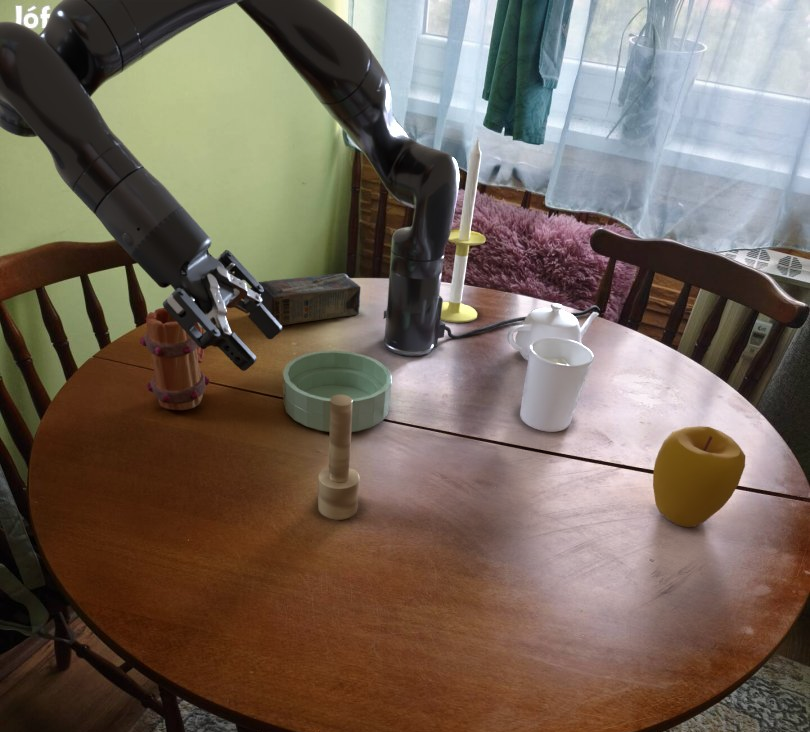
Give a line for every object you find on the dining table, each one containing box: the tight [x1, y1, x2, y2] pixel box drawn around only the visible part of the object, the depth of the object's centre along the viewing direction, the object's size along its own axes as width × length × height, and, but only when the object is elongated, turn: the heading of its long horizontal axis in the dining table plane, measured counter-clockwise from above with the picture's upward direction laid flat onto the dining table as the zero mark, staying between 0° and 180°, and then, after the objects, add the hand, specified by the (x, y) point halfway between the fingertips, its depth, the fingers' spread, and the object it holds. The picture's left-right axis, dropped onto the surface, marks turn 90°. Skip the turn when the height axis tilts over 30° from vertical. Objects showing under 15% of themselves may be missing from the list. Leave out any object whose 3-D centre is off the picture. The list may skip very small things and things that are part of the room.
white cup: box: [519, 337, 594, 433], centre depth 110 cm, size 10×10×12 cm
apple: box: [652, 425, 746, 528], centre depth 93 cm, size 11×11×13 cm
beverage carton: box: [258, 273, 362, 326], centre depth 135 cm, size 8×19×7 cm, turn 121°
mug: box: [139, 307, 210, 411], centre depth 105 cm, size 15×8×15 cm, turn 168°
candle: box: [440, 138, 487, 324], centre depth 134 cm, size 10×10×32 cm
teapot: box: [506, 302, 600, 362], centre depth 129 cm, size 20×12×10 cm, turn 115°
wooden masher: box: [317, 395, 360, 521], centre depth 86 cm, size 5×5×16 cm
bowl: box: [282, 349, 393, 433], centre depth 109 cm, size 17×17×6 cm
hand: (264, 349), depth 79 cm, fingers open, 8 cm apart
